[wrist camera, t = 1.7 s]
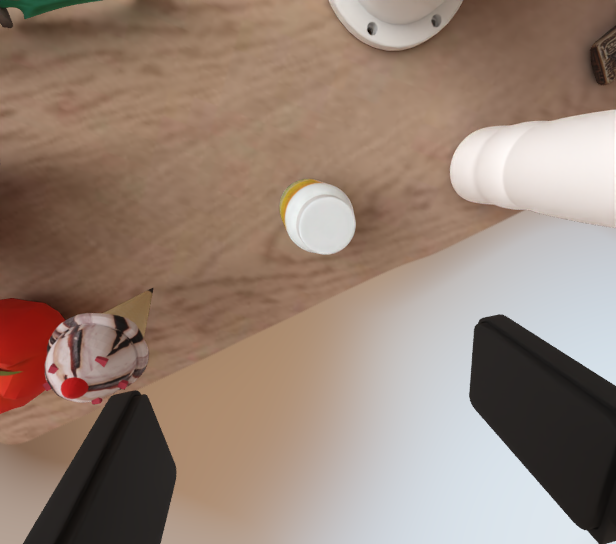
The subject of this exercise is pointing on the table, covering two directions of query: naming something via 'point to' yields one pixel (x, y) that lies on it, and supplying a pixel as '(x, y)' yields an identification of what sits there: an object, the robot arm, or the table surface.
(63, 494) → the robot arm
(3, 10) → the knife
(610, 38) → the statue
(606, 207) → the water bottle
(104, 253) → the table surface
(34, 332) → the tomato
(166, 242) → the table surface
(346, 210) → the supplement bottle
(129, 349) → the ice cream cone
